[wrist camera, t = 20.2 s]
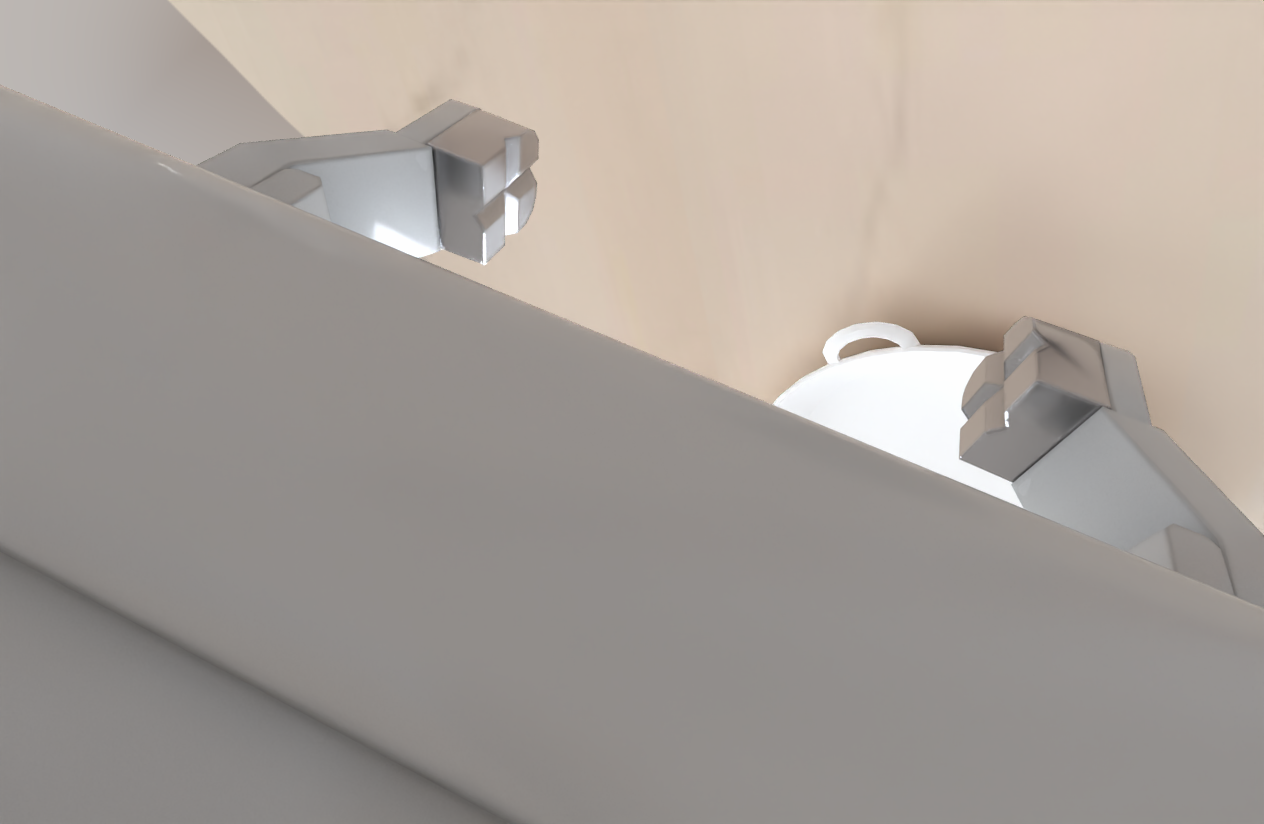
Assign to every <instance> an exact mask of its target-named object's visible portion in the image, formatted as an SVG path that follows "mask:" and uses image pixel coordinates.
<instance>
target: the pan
mask: <svg viewBox="0 0 1264 824" xmlns="http://www.w3.org/2000/svg"><path fill="white" fill-rule="evenodd" d="M871 337H876V338H883V339H888V340H890V341H892V342H895V343H897V344H899V345H900V347H892V348H885V349H877V350H870V351H866V352H863V353H860V354H856V355H853V356H850V357H846V358H843V359H840V357H839V355H838V354H839V351H840V349H841V348H843V347H844V346H845V345H846V344H848V343H850V342H852V341H855V340H858V339H861V338H871ZM994 353H997V352H993V351H987V350H981V349H975V348H969V347H963V346H947V345H921V344H920V343H919V341H918V340H917V338H916V337H915V335H914V334H913V332H911V331H909V330H907V329H905V328H903V327H900V326H898V325H896V324H889V323H882V322H868V323H859V324H854V325H852V326H849V327H847V328H844V329H841V330H839V331H838V332H836V333H835V334H834V335H833V336H832V337H831V338H829V339H828V340H827V342H826V344H825V347H824V349H823V354H824V356H825V358H826V361H827V363H828V364H827V365H825V366H823V367H821V368H819V369H817V370H815V371H813V372H811V373H809V374H807V375H805V376H803V377H802V378H801V379H799V380H798V381H797V382H796V383H794V384H793V385H792V386H791V387H790V388H788V389H787V390H786V391H785V392H783V393H782V394H781V395H780V396H779V397H778V398H777V399H776V401H775V402H774V403H773V405H775V406H777V407H779V408H782V409H784V410H787V411H789V412H791V413H794V414H796V415H799V416H801V417H804V418H806V419H808V420H811V421H813V422H816V423H818V424H820V425H823V426H825V427H828V428H830V429H833V430H835V431H837V432H840V433H842V434H845V435H847V436H849V437H852V438H854V439H857V440H859V441H862V442H864V443H866V444H869V445H871V446H874V447H876V448H878V449H881V450H883V451H886V452H888V453H891V454H893V455H895V456H898V457H900V458H903V459H905V460H907V461H910V462H912V463H915V464H917V465H920V466H922V467H924V468H927V469H929V470H932V471H934V472H936V473H939V474H941V475H944V476H946V477H949V478H951V479H953V480H956V481H958V482H961V483H963V484H965V485H968V486H970V487H973V488H975V489H978V490H980V491H982V492H985V493H987V494H990V495H992V496H994V497H997V498H999V499H1002V500H1004V501H1007V502H1009V503H1011V504H1014V505H1016V506H1019V507H1021V508H1023V506H1022V504H1021V503H1020V501H1019V499H1018V497H1017V495H1016V493H1015V491H1014V489H1013V487H1012V485H1011V484H1012V482H1010V481H1008V480H1005V479H1003V478H1001V477H999V476H996V475H994V474H992V473H989V472H987V471H985V470H983V469H980V468H978V467H976V466H973V465H971V464H969V463H967V462H964V461H962V460H960V459H959V444H960V429H961V427H962V426H963V425H964V424H965V423H966V422H967V421H968V419H967V417H966V416H965V414H964V413H963V411H962V410H961V405H962V397H963V393H964V390H965V387H966V385H967V383H968V381H969V379H970V377H971V375H972V374H973V372H974V370H975V369H976V368H977V367H978V365H979V364H980V363H981V362H982V360H983V359H984V358H985V357H986V356H988V355H991V354H994Z"/></svg>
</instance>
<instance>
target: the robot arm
mask: <svg viewBox="0 0 1264 824" xmlns="http://www.w3.org/2000/svg"><path fill="white" fill-rule="evenodd" d="M538 150H539V139H538V137H537V135H536V133H535V131H534V130H531V129H529V128H526V127H524V126H521V125H519V124H516V123H514V122H511V121H509V120H506V119H504V118H501V117H499V116H496V115H494V114H491V113H489V112H486V111H483V110H481V109H480V108H477V107H474V106H471V105H468V104H465V103H463V102H460V101H456V100H452V99H450V100H448V101H447V102H445V103H443V104H442V105H440V106H438V107H437V108H435V109H433V110H432V111H430V112H429V113H427V114H425V115H424V116H422V117H420V118H419V119H417V120H415V121H414V122H412V123H410V124H409V125H407V126H406V127H404V128H402V129H401V130H399V131H397V132H396V133H395V132H392V131H389V130H378V131H367V132H356V133H345V134H334V135H324V136H313V137H302V138H291V139H280V140H269V141H258V142H248V143H239V144H237V145H235V146H234V147H232V148H230V149H228V150H226V151H224V152H222V153H220V154H218V155H216V156H214V157H212V158H210V159H208V160H206V161H204V162H202V163H200V164H198V165H196V166H195V165H193V164H190V163H187V162H185V161H183V160H180V159H178V158H175V157H173V156H171V155H168V154H166V153H163V152H161V151H159V150H156V149H154V148H151V147H149V146H147V145H144V144H142V143H139V142H137V141H135V140H132V139H130V138H127V137H125V136H122V135H120V134H118V133H115V132H113V131H111V130H108V129H105V128H103V127H101V126H98V125H96V124H94V123H91V122H89V121H86V120H84V119H81V118H79V117H77V116H74V115H72V114H69V113H67V112H64V111H62V110H59V109H57V108H55V107H53V106H50V105H48V104H45V103H43V102H40V101H38V100H35V99H33V98H31V97H28V96H26V95H23V94H21V93H19V92H16V91H14V90H12V89H9V88H7V87H4V86H2V85H0V824H1264V535H1263V534H1262V533H1261V532H1260V531H1259V530H1258V529H1257V528H1256V527H1255V526H1254V525H1253V524H1252V523H1251V521H1250V520H1249V519H1248V518H1247V517H1246V516H1245V515H1244V514H1243V513H1242V512H1241V511H1240V510H1239V509H1238V508H1237V507H1236V506H1235V505H1234V504H1233V503H1232V502H1231V501H1230V500H1229V499H1228V497H1227V496H1226V495H1225V494H1224V493H1223V492H1222V491H1221V490H1220V489H1219V488H1218V487H1217V486H1216V485H1215V484H1214V483H1213V482H1212V481H1211V480H1210V479H1209V478H1208V477H1207V476H1206V474H1205V473H1204V472H1203V471H1202V470H1201V469H1200V468H1199V467H1198V466H1197V465H1196V464H1195V463H1194V462H1193V461H1192V460H1191V459H1190V458H1189V457H1188V456H1187V455H1186V454H1185V453H1184V451H1183V450H1182V449H1181V448H1180V447H1179V446H1178V445H1177V444H1176V443H1175V442H1174V441H1173V440H1172V439H1171V438H1170V437H1169V436H1168V435H1167V434H1166V433H1165V432H1164V431H1163V430H1162V429H1159V428H1156V427H1154V426H1152V424H1151V420H1150V416H1149V412H1148V408H1147V404H1146V399H1145V395H1144V391H1143V387H1142V383H1141V379H1140V375H1139V371H1138V366H1137V362H1136V358H1135V356H1134V355H1133V354H1131V353H1130V352H1129V351H1127V350H1124V349H1121V348H1118V347H1115V346H1112V345H1109V344H1106V343H1103V342H1100V341H1098V340H1095V339H1092V338H1089V337H1086V336H1084V335H1081V334H1078V333H1075V332H1072V331H1069V330H1066V329H1063V328H1061V327H1058V326H1055V325H1052V324H1049V323H1046V322H1043V321H1040V320H1038V319H1035V318H1032V317H1026V316H1024V317H1022V318H1021V319H1020V320H1018V321H1017V322H1016V323H1014V325H1013V326H1012V327H1011V328H1010V329H1009V330H1008V331H1007V332H1006V334H1005V335H1004V350H1003V351H1000V352H997V353H994V354H991V355H988V356H986V357H985V358H984V359H983V360H982V362H981V363H980V364H979V365H978V367H977V368H976V369H975V370H974V372H973V374H972V375H971V377H970V379H969V381H968V383H967V385H966V387H965V390H964V393H963V397H962V405H961V410H962V411H963V413H964V414H965V416H966V417H967V419H968V421H967V422H966V423H965V424H964V425H963V426H962V427H961V429H960V444H959V459H960V460H962V461H964V462H967V463H969V464H971V465H973V466H976V467H978V468H980V469H983V470H985V471H987V472H989V473H992V474H994V475H996V476H999V477H1001V478H1003V479H1005V480H1008V481H1010V482H1012V484H1011V485H1012V487H1013V489H1014V491H1015V493H1016V495H1017V497H1018V499H1019V501H1020V503H1021V504H1022V506H1023V508H1021V507H1019V506H1016V505H1014V504H1011V503H1009V502H1007V501H1004V500H1002V499H999V498H997V497H994V496H992V495H990V494H987V493H985V492H982V491H980V490H978V489H975V488H973V487H970V486H968V485H965V484H963V483H961V482H958V481H956V480H953V479H951V478H949V477H946V476H944V475H941V474H939V473H936V472H934V471H932V470H929V469H927V468H924V467H922V466H920V465H917V464H915V463H912V462H910V461H907V460H905V459H903V458H900V457H898V456H895V455H893V454H891V453H888V452H886V451H883V450H881V449H878V448H876V447H874V446H871V445H869V444H866V443H864V442H862V441H859V440H857V439H854V438H852V437H849V436H847V435H845V434H842V433H840V432H837V431H835V430H833V429H830V428H828V427H825V426H823V425H820V424H818V423H816V422H813V421H811V420H808V419H806V418H804V417H801V416H799V415H796V414H794V413H791V412H789V411H787V410H784V409H782V408H779V407H777V406H775V405H772V404H770V403H767V402H765V401H762V400H760V399H758V398H755V397H753V396H750V395H748V394H746V393H743V392H741V391H738V390H736V389H734V388H731V387H729V386H726V385H724V384H721V383H719V382H717V381H714V380H712V379H709V378H707V377H705V376H702V375H700V374H697V373H695V372H692V371H690V370H688V369H685V368H683V367H680V366H678V365H676V364H673V363H671V362H668V361H666V360H663V359H661V358H659V357H656V356H654V355H651V354H649V353H647V352H644V351H642V350H639V349H637V348H634V347H632V346H630V345H627V344H625V343H622V342H620V341H618V340H615V339H613V338H610V337H608V336H606V335H603V334H601V333H598V332H596V331H593V330H591V329H589V328H586V327H584V326H581V325H579V324H577V323H574V322H572V321H569V320H567V319H564V318H562V317H560V316H557V315H555V314H552V313H550V312H548V311H545V310H543V309H540V308H538V307H535V306H533V305H531V304H528V303H526V302H523V301H521V300H519V299H516V298H514V297H511V296H509V295H506V294H504V293H502V292H499V291H497V290H494V289H492V288H490V287H487V286H485V285H482V284H480V283H478V282H475V281H473V280H470V279H468V278H465V277H463V276H461V275H458V274H456V273H453V272H451V271H449V270H446V269H444V268H441V267H439V266H436V265H434V264H432V263H429V262H427V261H424V260H422V259H420V257H423V256H426V255H429V254H432V253H435V252H438V251H440V248H441V249H444V250H446V251H449V252H452V253H454V254H457V255H460V256H462V257H465V258H468V259H470V260H473V261H476V262H478V263H481V264H484V265H485V264H486V263H487V262H488V261H489V260H490V259H491V258H492V257H493V256H494V255H495V254H496V253H497V252H499V251H500V250H501V249H502V248H503V247H504V246H505V235H509V234H513V233H518V232H519V231H520V230H521V229H522V228H523V226H524V225H525V224H526V223H527V221H528V219H529V217H530V215H531V213H532V211H533V208H534V203H535V199H536V191H537V182H536V180H535V178H534V176H533V174H532V172H531V170H530V167H531V166H532V165H533V164H534V163H535V162H536V161H537V160H538Z"/></svg>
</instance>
